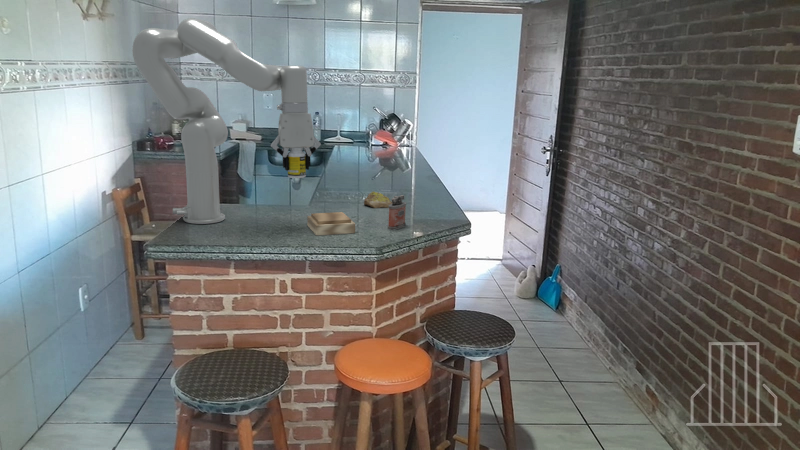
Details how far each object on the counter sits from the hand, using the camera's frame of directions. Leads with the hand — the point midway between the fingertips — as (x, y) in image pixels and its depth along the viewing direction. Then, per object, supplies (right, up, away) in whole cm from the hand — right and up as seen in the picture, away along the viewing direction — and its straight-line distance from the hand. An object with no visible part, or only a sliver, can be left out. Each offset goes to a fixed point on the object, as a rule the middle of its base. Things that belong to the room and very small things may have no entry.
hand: (296, 168), depth 181 cm
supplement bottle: (0, -3, +1) cm, 3 cm away
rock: (+23, -10, +38) cm, 45 cm away
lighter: (+30, -18, +9) cm, 36 cm away
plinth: (+10, -18, +3) cm, 21 cm away
